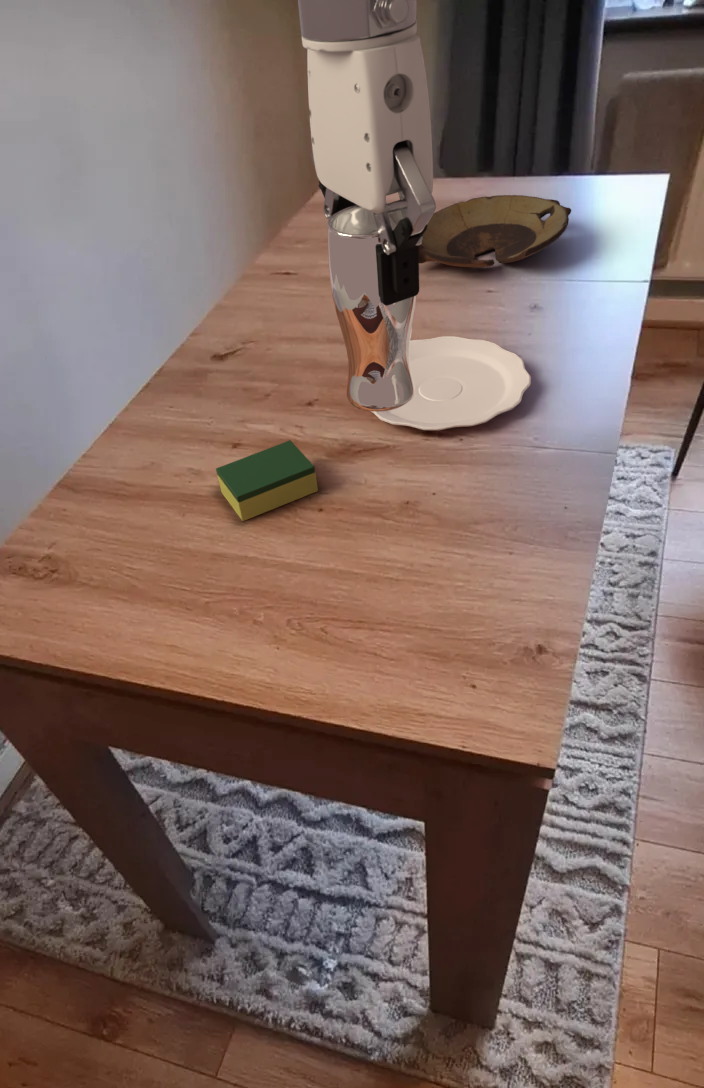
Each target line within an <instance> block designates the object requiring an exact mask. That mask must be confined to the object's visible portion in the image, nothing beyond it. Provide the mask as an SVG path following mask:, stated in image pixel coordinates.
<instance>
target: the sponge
mask: <svg viewBox="0 0 704 1088" xmlns="http://www.w3.org/2000/svg"><path fill="white" fill-rule="evenodd" d="M315 467H316V466H315V465H314V464H313V463H312V462H311V461H310V460H309V458H308V457H307V456H306V455H305V454H304V453H303V452H302V451H301V450H300V449H299V448H298V446H296V444H295V443H294V442H293V441H292V440H291V439H290V440H287V441H284V442H282V443H279V444H276V445H273V446H271V447H269V448H265V449H263V450H261V451H258V452H256V453H252V454H250V455H248V456H245V457H242V458H239V459H237V460H235V461H232V462H229V463H227V464H223V465H221V466H219V467H217V468H215V472H216V475H217V480H218V485H219V488H220V491H221V494H222V495H223V497H224V498H225V499H226V501H227V502H228V504H229V506H230V507H231V508H232V510H234V512H235V513H236V515H237V516H238V517H239V519H240V520H241V521H242V522H246V521H247V520H250V519H252V518H254V517H257V516H259V515H262V514H266V513H267V512H270V511H273V510H274V509H277V508H279V507H282V506H285V505H287V504H290V503H292V502H294V501H296V500H299V499H302V498H305V497H306V496H309V495H311V494H314V493H316V492H318V491H319V489H318V480H317V475H316V474H317V473H316V468H315Z"/></svg>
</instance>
